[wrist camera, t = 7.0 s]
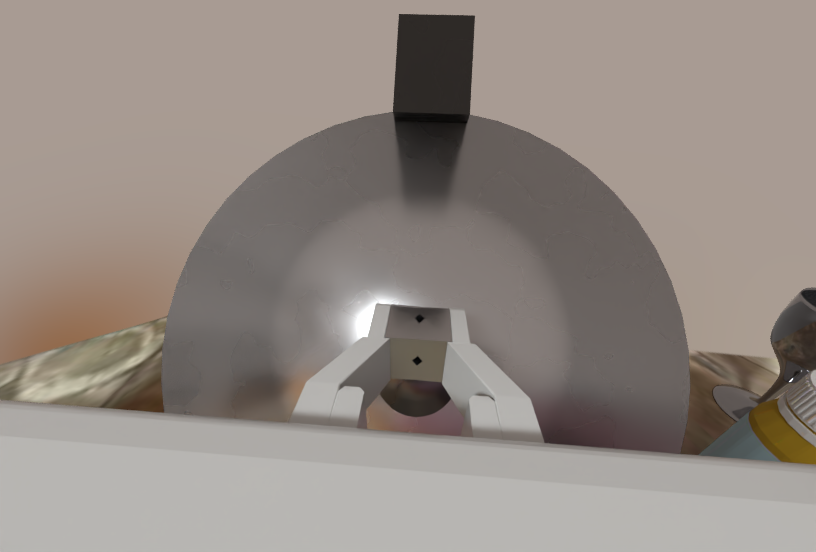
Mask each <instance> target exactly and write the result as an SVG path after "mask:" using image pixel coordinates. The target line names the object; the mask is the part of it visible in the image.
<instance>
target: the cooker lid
mask: <svg viewBox="0 0 816 552" xmlns="http://www.w3.org/2000/svg"><path fill="white" fill-rule="evenodd" d="M474 21H475V16H464V15H415V14H414V15H413V14H399V23H398V24H399V25H398V40H397V55H396V56H397V57H396V72H395V87H394V103H393V104H394V106H393V112H390V113H384V114H378V115H372V116H365V117H362V118H358V119H355V120H352V121H348V122H345V123H341V124H338V125H334V126H332V127H330V128H327V129H325V130H323V131H321V132H318V133H316V134H314V135H311V136H309V137H307V138H304V139H303V140H301V141H299V142H297V143H296V144H294V145H293V146H291V147H289V148H287V149H286V150H284V151H282V152H281V153H279V154H277V155H276V156H275V157H273V158H272V159H271V160H270V161H268V162H267V163H265V164H264V165H263V166H262V167H260V168H259V169H258V170H257V171H256V172H254V173H253V174H251V175H250V176H249V177H248V178H247V179H246V180H245V181H244V182H243V183H242V184H241V185H240V186H239V187H238V188H237V189H236V190H235V191H234V192H233V193H232V194H231V195H230V196H229V197H228V198H227V200H226V201H225V202H224V203H223V204H222V206H221V207H220V209H219V210H218V211H217V212H216V214H215V215H214V216H213V218H212V219H211V220H210V221H209V223H208V224H207V225H206V227H205V229H204V231H203V232H202V234H201V236H200V237H199V239H198V241H197V242H196V244H195V246H194V248H193V249H192V251H191V253H190V255H189V257H188V259H187V262H186V264H185V266H184V269H183V271H182V273H181V276H180V278H179V280H178V283H177V286H176V289H175V292H174V296H173V299H172V303H171V307H170V310H169V314H168V317H167V324H166V330H165V336H164V343H163V349H162V382H161V384H162V394H163V405H164V413H173V414H185V415H198V416H210V417H223V418H235V419H248V420H261V421H273V422H286V423H289V420H290V418H291V416H292V414H293V411H294V409H295V407H296V404H297V402H298V400H299V397H300V395H301V393H302V390H303V388H304V386H305V383H306V382H307V381H308V380H309V379H310V378H312V377H313V376H314V375H315V374H317V373H318V372H319V371H320V370H322V369H323V368H324V367H325V366H327V365H328V364H329V363H330V362H332V361H333V360H334V359H335V358H337V357H338V356H339V355H340V354H342V353H343V352H344V351H345V350H347V349H348V348H349V347H350V346H352V345H353V344H354V343H355V342H357V341H358V340H359V339H360V338H362V337H367V335H368V331H369V327H370V324H371V320H372V316H373V312H374V308H375V305H376V304H377V303H381V304H396V305H408V306H420V307H435V308H464V309H465V311H466V317H467V323H468V330H469V336H470V342H471V344H476V345H477V346H478V347H479V348H480V349H481V350H482V351H483V352H484V353H485V354H486V355H487V356H488V357H489V358H490V359H491V360H492V361H493V362H494V363H495V364H496V365H497V366H498V367H499V368H500V369H501V370H502V371H503V372H504V373H505V374H506V375H507V376H508V377H509V378H510V379H511V380H512V381H513V382H514V383H515V384H516V385H517V386H518V387H519V388H520V389H521V390H522V391H523V392H524V393H525V394H526V395H527V396H528V397H529V398H530V399H531V402H532V405H533V408H534V412H535V415H536V418H537V421H538V424H539V427H540V430H541V433H542V436H543V439H544V442H545V443H550V444H563V445H576V446H588V447H601V448H613V449H626V450H638V451H651V452H663V453H676V454H680V452H681V448H682V443H683V439H684V434H685V430H686V425H687V418H688V407H689V395H690V371H689V350H688V345H687V339H686V334H685V329H684V323H683V317H682V314H681V310H680V307H679V304H678V301H677V298H676V295H675V292H674V289H673V285H672V282H671V280H670V278H669V276H668V274H667V271H666V269H665V267H664V265H663V263H662V261H661V259H660V257H659V254H658V253H657V250H656V248H655V247H654V245H653V244H652V242H651V240H650V239H649V237H648V236H647V234H646V233H645V231H644V230H643V228H642V227H641V225H640V223H639V222H638V220H637V219H636V218H635V216H634V215H633V214H632V213H631V212H630V211H629V209H628V208H627V207H626V206H625V205H624V203H623V202H622V201H621V200H620V199H619V198H618V196H617V195H616V194H615V193H614V192H613V191H612V190H611V189H610V188H609V187H608V186H607V185H605V184H604V183H603V182H602V181H601V180H600V179H599V178H598V177H597V176H596V175H595V174H593V173H592V172H591V171H590V170H589V169H588V168H587V167H585V166H584V165H582V164H581V163H579V162H578V161H577V160H575V159H574V158H572V157H571V156H569V155H568V154H566V153H565V152H563V151H562V150H561V149H559V148H557V147H555V146H553V145H551V144H550V143H548V142H546V141H544V140H542V139H540V138H538V137H536V136H534V135H532V134H531V133H528V132H526V131H523V130H520V129H518V128H515V127H512V126H509V125H507V124H504V123H501V122H499V121H495V120H491V119H486V118H482V117H477V116H473V115H470V100H471V79H472V61H473V40H474ZM366 418H367V429H373V430H386V431H398V432H411V433H423V434H435V435H448V436H460V435H461V431H462V426H463V422H464V418H463V416H462V415H461V413H460V412H459V410H458V408H457V407H456V405H455V404H454V402H453V400H452V399H451V397H450V396H449V394H448V393H447V391H446V389H445V388H444V386H443V385H442V382H433V381H423V380H410V379H390V381H389V382H388V384H387V385H386V386H385V387H384V389H383V390H382V391H381V392H380V393H379V395H378V396H377V397H376V398H375V400H374V401H373V402H372V403H371V405H370V406H369V407H368V408H367V410H366Z"/></svg>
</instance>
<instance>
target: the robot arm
mask: <svg viewBox="0 0 816 552" xmlns="http://www.w3.org/2000/svg"><path fill="white" fill-rule="evenodd" d="M390 379H410V380H423V381H433V382H442V385H443V386H444V388H445V389H446V391H447V393H448V394H449V396H450V397H451V399H452V400H453V402H454V404H455V405H456V407H457V408H458V410H459V412H460V413H461V415H462V416H463V418H464V422H463V426H462V431H461V435H460V436H448V435H435V434H423V433H411V432H398V431H386V430H373V429H367V418H366V410H367V408H368V407H369V406H370V405H371V403H372V402H373V401H374V400H375V398H376V397H377V396H378V395H379V393H380V392H381V391H382V390H383V389H384V387H385V386H386V385H387V384H388V382H389V381H390ZM0 552H816V465H814V464H801V463H789V462H776V461H764V460H751V459H739V458H726V457H713V456H701V455H688V454H676V453H663V452H651V451H638V450H626V449H613V448H601V447H588V446H576V445H563V444H550V443H545V442H544V439H543V436H542V433H541V430H540V427H539V424H538V421H537V418H536V415H535V412H534V408H533V405H532V402H531V399H530V398H529V397H528V396H527V395H526V394H525V393H524V392H523V391H522V390H521V389H520V388H519V387H518V386H517V385H516V384H515V383H514V382H513V381H512V380H511V379H510V378H509V377H508V376H507V375H506V374H505V373H504V372H503V371H502V370H501V369H500V368H499V367H498V366H497V365H496V364H495V363H494V362H493V361H492V360H491V359H490V358H489V357H488V356H487V355H486V354H485V353H484V352H483V351H482V350H481V349H480V348H479V347H478V346H477V345H476V344H471V342H470V336H469V330H468V323H467V317H466V311H465V309H464V308H435V307H420V306H408V305H396V304H381V303H377V304H376V305H375V308H374V312H373V316H372V320H371V324H370V327H369V331H368V335H367V337H362V338H360V339H359V340H358V341H357V342H355V343H354V344H353V345H352V346H350V347H349V348H348V349H347V350H345V351H344V352H343V353H342V354H340V355H339V356H338V357H337V358H335V359H334V360H333V361H332V362H330V363H329V364H328V365H327V366H325V367H324V368H323V369H322V370H320V371H319V372H318V373H317V374H315V375H314V376H313V377H312V378H310V379H309V380H308V381H307V382H306V383H305V386H304V388H303V390H302V393H301V395H300V397H299V400H298V402H297V404H296V407H295V409H294V411H293V414H292V416H291V418H290V420H289V423H286V422H273V421H261V420H248V419H235V418H223V417H210V416H198V415H185V414H173V413H160V412H148V411H135V410H122V409H110V408H97V407H85V406H72V405H60V404H47V403H34V402H22V401H9V400H0Z"/></svg>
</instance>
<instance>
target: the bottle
mask: <svg viewBox="0 0 816 552" xmlns="http://www.w3.org/2000/svg"><path fill="white" fill-rule="evenodd" d="M699 455H701V456H713V457H726V458H739V459H751V460H764V461H776V462H789V463H801V464H814V465H816V370H814V371H812V372H809V373H808V374H807V375H805V376H804V377H803V378H802V379H801V380H799V381H798V382H797V383H796V384H795V385H793V386H792V387H791V388H790V389H789V390H788V391H787V392H785V393H784V394H783V395H782V396H781V397H780V398H778V399H774V400H770V401H766V402H763V403H760V404H759V405H757V406H756V407H755V408H753V409H752V410H750V411H749V412H748V413H747V414H746V415H744V416H743V417H742V418H741V419H740V420H739V421H737V422H736V423H735V424H734V425H733V426H732V427H730V428H729V429H728V430H727V431H726V432H724V433H723V434H722V435H721V436H720V437H719V438H717V439H716V440H715V441H714V442H713V443H712V444H710V445H709V446H708V447H707V448H706V449H705V450H703V451H702V452H701V453H700V454H699Z"/></svg>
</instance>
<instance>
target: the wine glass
mask: <svg viewBox="0 0 816 552" xmlns="http://www.w3.org/2000/svg"><path fill="white" fill-rule="evenodd" d="M770 339H771V344H772V347H773V349H774V352H775V354H776V357H777V359H778V362H779V366H780V374H779V377H778V379H777V380H776V381H775V383H774V384H773V385H772V387H771V388H770V389H769V390H768V391H767V392H766V393H765V394H764V395H763V396H760V395H758V394H756V393H754V392H752V391H749V390H747V389H744V388H741V387H738V386H734V385H727V384H722V385H718V386H716V387H714V389H713V397H714V399H715V401H716V403H717V404H718V405H719V406H720V408H721V409H722V410H723V411H724V412H725V413H726V414H727V415H729V416H730V417H731V418H732V419H734V420H735V421H736V422H737V421H739V420H740V419H741V418H742V417H743V416H744V415H746V414H747V413H748V412H749V411H750V410H752V409H753V408H755V407H756V406H757V405H759V404H760V403H763V402H766V401H770V400H774V399H775V398H776V397H778V396H779V395H781V394H782V393H784V392H786V391H788V390H789V389H790V388H791V387H792V386H793V385H795V384H796V383H797V382H798V381H799V380H801V379H802V378H803V377H804V376H805V375H807V374H808V373H809V372H812V371H814V370H816V288H806V289H803V290H802V291H801V292H800V293H799V294H798V295H797V296H796V297H795V298H794V299H793V300H792V301H791V302H790V303H789V304H788V306H787V307H786V308H785V309H784V310H783V312H782V313H781V314H780V316H779V318H778V319H777V321H776V323H775V325H774V327H773V329H772V333H771V338H770Z"/></svg>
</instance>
